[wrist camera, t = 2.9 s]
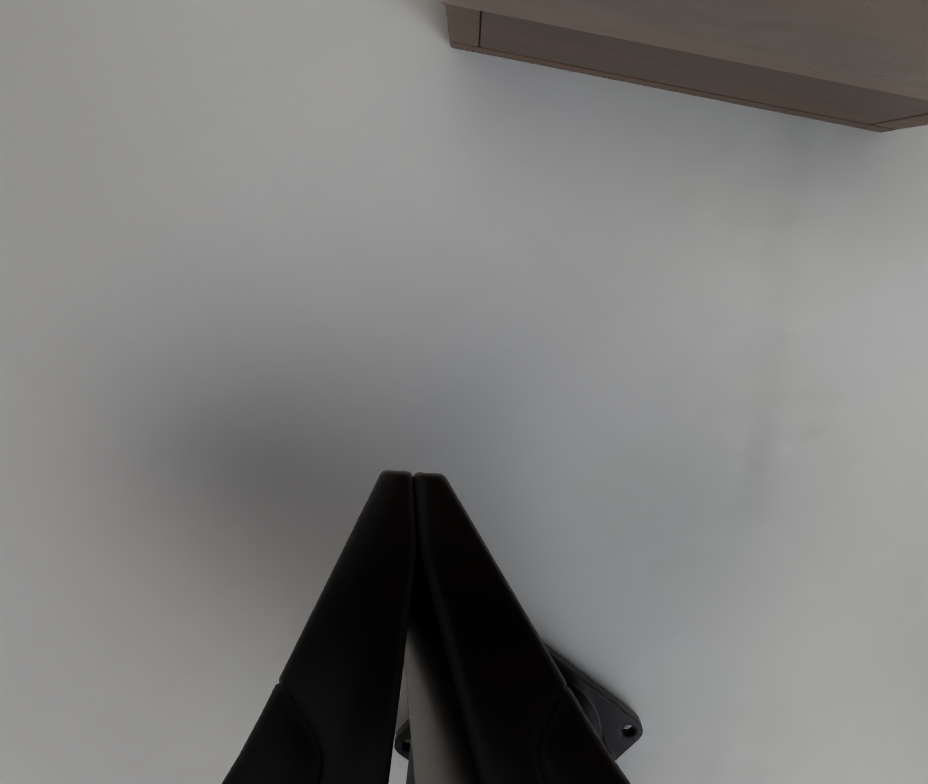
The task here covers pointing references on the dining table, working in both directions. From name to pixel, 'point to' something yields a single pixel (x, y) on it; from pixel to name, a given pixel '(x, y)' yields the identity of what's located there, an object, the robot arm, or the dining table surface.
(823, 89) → the chest
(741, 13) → the lid
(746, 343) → the dining table surface
